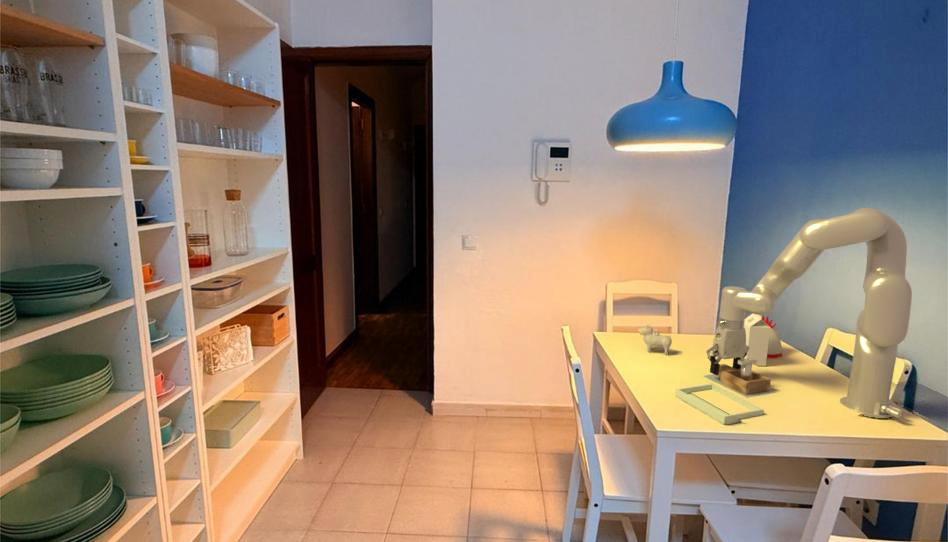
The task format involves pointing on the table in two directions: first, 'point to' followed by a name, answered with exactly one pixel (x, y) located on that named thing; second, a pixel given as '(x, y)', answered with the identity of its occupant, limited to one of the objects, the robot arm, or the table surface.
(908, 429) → the table surface
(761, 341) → the milk carton
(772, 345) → the kitchen timer
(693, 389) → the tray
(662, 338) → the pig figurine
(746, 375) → the stake
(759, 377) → the open wooden box
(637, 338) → the table surface
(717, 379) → the stake board
